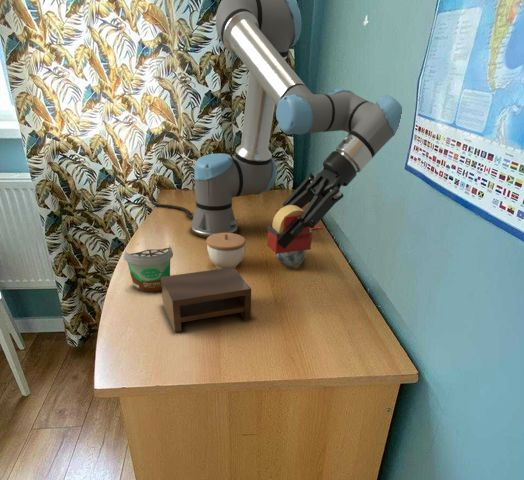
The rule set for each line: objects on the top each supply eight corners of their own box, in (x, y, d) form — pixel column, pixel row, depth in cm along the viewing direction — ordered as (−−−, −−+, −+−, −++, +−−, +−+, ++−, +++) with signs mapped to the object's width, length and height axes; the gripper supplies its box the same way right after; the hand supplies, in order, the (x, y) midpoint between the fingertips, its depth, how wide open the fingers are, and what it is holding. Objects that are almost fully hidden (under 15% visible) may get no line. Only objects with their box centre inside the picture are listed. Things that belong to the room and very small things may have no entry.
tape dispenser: (267, 245, 109) (269, 205, 103) (301, 241, 112) (305, 202, 106) (275, 253, 105) (278, 213, 99) (311, 249, 108) (315, 209, 102)
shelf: (163, 306, 110) (160, 276, 105) (233, 295, 116) (233, 266, 111) (175, 332, 101) (172, 300, 96) (250, 319, 107) (251, 288, 102)
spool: (311, 263, 126) (298, 228, 123) (279, 275, 129) (266, 241, 126) (314, 255, 139) (303, 224, 136) (285, 266, 141) (273, 236, 139)
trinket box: (251, 262, 133) (251, 231, 128) (233, 276, 125) (234, 244, 119) (218, 254, 136) (218, 224, 131) (200, 268, 128) (198, 236, 123)
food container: (134, 298, 113) (128, 260, 107) (127, 287, 117) (122, 251, 111) (181, 289, 118) (179, 253, 112) (174, 279, 122) (171, 243, 116)
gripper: (317, 141, 106) (250, 217, 110) (359, 159, 93) (281, 245, 96) (334, 164, 111) (269, 235, 115) (377, 184, 97) (301, 265, 101)
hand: (275, 239), depth 106 cm, fingers closed on tape dispenser, 5 cm apart
